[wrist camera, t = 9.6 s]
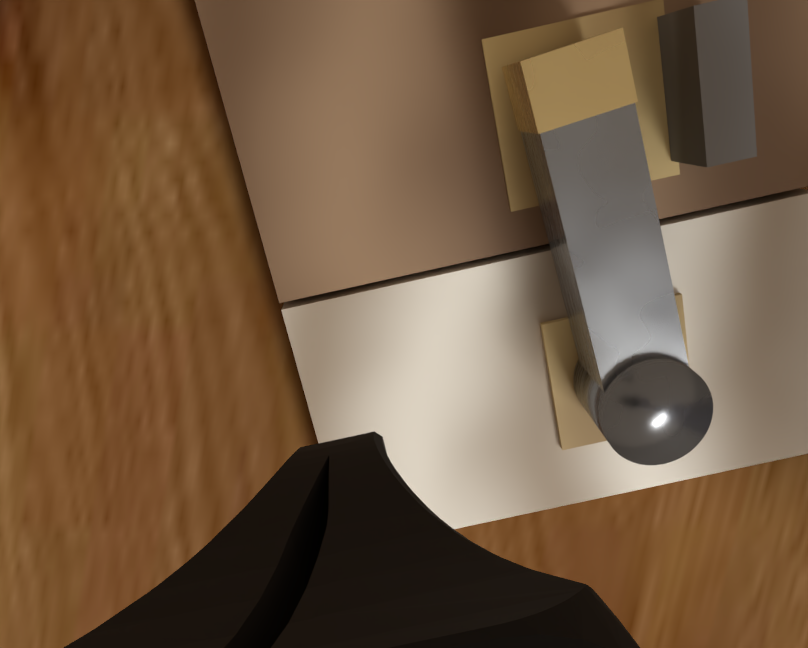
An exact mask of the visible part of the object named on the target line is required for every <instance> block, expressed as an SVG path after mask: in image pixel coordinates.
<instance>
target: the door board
mask: <svg viewBox="0 0 808 648" xmlns="http://www.w3.org/2000/svg"><path fill="white" fill-rule="evenodd" d="M195 3H196V7H197V10H198V14H199V18H200V21H201V25H202V28H203V32H204V36H205V39H206V43H207V46H208V50H209V53H210V57H211V61H212V64H213V68H214V71H215V75H216V78H217V82H218V86H219V89H220V93H221V96H222V100H223V103H224V107H225V111H226V114H227V118H228V121H229V125H230V129H231V132H232V136H233V139H234V143H235V146H236V150H237V154H238V157H239V161H240V164H241V168H242V171H243V175H244V179H245V182H246V186H247V189H248V193H249V196H250V200H251V204H252V207H253V211H254V214H255V218H256V222H257V225H258V229H259V232H260V236H261V239H262V243H263V247H264V250H265V254H266V257H267V261H268V264H269V268H270V272H271V275H272V279H273V282H274V286H275V289H276V293H277V297H278V300H279V303H282V302H284V305H283V307H282V309H281V311H282V315H283V318H284V322H285V325H286V329H287V332H288V336H289V340H290V343H291V347H292V350H293V354H294V357H295V361H296V365H297V368H298V372H299V375H300V379H301V382H302V386H303V390H304V393H305V397H306V400H307V404H308V407H309V411H310V415H311V418H312V422H313V425H314V429H315V433H316V436H317V440H318V443H323V442H328V441H332V440H337V439H342V438H346V437H351V436H355V435H360V434H365V433H369V432H374V431H375V432H376V433H378V434H379V435H381V436H382V437H383V440H384V444H385V448H386V452H387V456H388V457H389V459H390V461H391V463H392V464H393V466H394V467H395V469H396V470H397V472H398V473H399V474H400V476H401V477H402V478H403V480H404V481H405V482H406V484H407V485H408V486H409V487H410V489H411V490H412V491H413V492H414V493H415V494H416V495H417V496H418V497H419V498H420V500H421V501H422V502H423V503H424V504H425V505H426V506H427V507H428V508H429V509H430V510H431V511H432V512H434V513H435V514H436V515H437V516H438V517H439V518H440V519H441V520H443V521H444V522H445V523H446V524H448V525H449V526H450V527H452V528H453V529H457V528H461V527H466V526H471V525H475V524H480V523H485V522H489V521H494V520H499V519H504V518H508V517H513V516H518V515H522V514H527V513H532V512H536V511H541V510H546V509H550V508H555V507H560V506H564V505H569V504H574V503H578V502H583V501H588V500H593V499H597V498H602V497H607V496H611V495H616V494H621V493H625V492H630V491H635V490H639V489H644V488H649V487H653V486H658V485H663V484H667V483H672V482H677V481H682V480H686V479H691V478H696V477H700V476H705V475H710V474H714V473H719V472H724V471H728V470H733V469H738V468H742V467H747V466H752V465H756V464H761V463H766V462H771V461H775V460H780V459H785V458H789V457H794V456H799V455H803V454H808V190H805V189H800V188H803V187H807V186H808V0H195ZM620 28H623V31H624V36H625V40H626V45H627V50H628V55H629V60H630V65H631V70H632V75H633V80H634V85H635V90H636V94H637V99H638V102H636V103H635V105H636V110H637V115H638V120H639V124H640V129H641V134H642V139H643V144H644V149H645V154H646V159H647V163H648V168H649V173H650V178H651V183H652V188H653V193H654V198H655V202H656V207H657V212H658V217H659V222H660V227H661V232H662V237H663V241H664V246H665V251H666V256H667V261H668V266H669V271H670V276H671V280H672V285H673V290H674V295H675V300H676V305H677V310H678V315H679V320H680V324H681V329H682V334H683V339H684V344H685V349H686V354H687V359H688V363H689V367H690V368H691V369H692V370H693V371H695V372H696V373H697V374H698V375H699V376H700V377H701V378H702V379H703V380H704V381H705V383H706V384H707V386H708V388H709V390H710V392H711V395H712V399H713V416H712V420H711V424H710V426H709V429H708V431H707V433H706V434H705V436H704V438H703V439H702V440H701V442H700V443H699V444H698V445H697V446H696V447H695V448H694V449H693V450H692V451H690V452H689V453H688V454H686V455H685V456H683V457H681V458H679V459H677V460H675V461H672V462H669V463H666V464H661V465H641V464H637V463H633V462H631V461H628V460H626V459H625V458H623V457H621V456H619V454H618V453H617V452H616V451H615V450H614V449H613V448H612V447H611V445H610V444H609V443H608V441H607V440H606V438H605V437H604V436H603V434H602V433H601V431H600V430H599V429H598V427H597V426H596V424H595V423H594V421H593V420H592V419H591V417H590V416H589V414H588V413H587V412H586V410H585V409H584V407H583V406H582V405H581V403H580V402H579V400H578V398H577V396H576V393H575V390H574V385H573V376H574V370H575V366H576V364H577V361H578V359H579V358H578V354H577V350H576V346H575V343H574V339H573V335H572V331H571V327H570V323H569V319H568V315H567V311H566V307H565V303H564V300H563V296H562V292H561V288H560V284H559V280H558V276H557V272H556V268H555V264H554V260H553V257H552V253H551V249H550V245H549V241H548V237H547V233H546V229H545V225H544V221H543V217H542V213H541V210H540V206H539V202H538V198H537V194H536V190H535V186H534V182H533V178H532V174H531V170H530V167H529V163H528V159H527V155H526V151H525V147H524V143H523V139H522V135H521V131H518V129H517V125H516V121H515V117H514V113H513V110H512V106H511V102H510V98H509V94H508V90H507V86H506V82H505V78H504V75H503V71H502V67H503V66H506V65H509V64H512V63H515V62H518V61H521V60H524V59H527V58H530V57H533V56H536V55H539V54H543V53H546V52H549V51H552V50H555V49H558V48H561V47H564V46H567V45H570V44H573V43H576V42H579V41H582V40H585V39H588V38H591V37H594V36H597V35H600V34H604V33H607V32H610V31H613V30H616V29H620Z"/></svg>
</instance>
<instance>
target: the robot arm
mask: <svg viewBox="0 0 808 648" xmlns="http://www.w3.org/2000/svg"><path fill="white" fill-rule="evenodd" d="M64 648H640V647H639V646H638V644H637V643H636V642H635V640H634V639H633V638H632V636H631V635H630V634H629V633H628V631H627V630H626V629H625V627H624V626H623V625H622V623H621V622H620V621H619V619H618V618H617V617H616V616H615V615H614V614H613V612H612V611H611V610H610V609H609V608H608V606H607V605H606V604H605V603H604V602H603V600H602V599H601V598H600V597H599V596H598V595H597V593H596V592H595V591H594V590H593V589H592V588H591V587H589V586H588V585H586V584H583V583H579V582H575V581H571V580H568V579H564V578H560V577H557V576H553V575H549V574H545V573H542V572H538V571H534V570H531V569H529V568H526V567H523V566H521V565H518V564H516V563H513V562H511V561H508V560H506V559H504V558H501V557H499V556H497V555H495V554H493V553H491V552H489V551H487V550H486V549H484V548H482V547H480V546H478V545H477V544H475V543H473V542H471V541H470V540H468V539H467V538H465V537H464V536H463V535H461V534H460V533H458V532H457V531H455V530H454V529H453V528H452V527H450V526H449V525H448V524H446V523H445V522H444V521H443V520H441V519H440V518H439V517H438V516H437V515H436V514H435V513H434V512H432V511H431V510H430V509H429V508H428V507H427V506H426V505H425V504H424V503H423V502H422V501H421V500H420V498H419V497H418V496H417V495H416V494H415V493H414V492H413V491H412V490H411V489H410V487H409V486H408V485H407V484H406V482H405V481H404V480H403V478H402V477H401V476H400V474H399V473H398V472H397V470H396V469H395V467H394V466H393V464H392V463H391V461H390V459H389V457H388V456H387V452H386V448H385V444H384V440H383V437H382V436H381V435H379V434H378V433H376V432H375V431H374V432H369V433H365V434H360V435H355V436H351V437H346V438H342V439H337V440H332V441H328V442H323V443H319V444H314V445H309V446H305V447H300V448H299V449H298V450H297V451H296V452H295V453H294V454H293V455H292V456H291V457H290V458H289V459H288V460H287V461H286V462H285V463H284V465H283V466H282V467H281V468H280V469H279V470H278V471H277V472H276V474H275V475H274V476H273V477H272V478H271V479H270V480H269V481H268V482H267V484H266V485H265V486H264V487H263V488H262V489H261V490H260V491H259V492H258V493H257V495H256V496H255V497H254V498H253V499H252V500H251V501H250V502H249V503H248V504H247V506H246V507H245V508H244V509H243V510H242V511H241V512H240V513H239V514H238V515H237V516H236V517H235V518H234V519H233V520H231V521H230V522H229V523H228V524H227V525H226V526H225V527H224V528H223V529H222V530H221V531H220V532H219V533H218V534H217V535H216V536H215V537H214V538H213V539H212V540H211V541H210V542H209V543H208V544H207V545H206V546H205V547H204V548H203V549H202V550H200V551H199V552H198V553H197V554H196V555H195V556H194V557H192V558H191V559H190V560H189V561H188V562H187V563H185V564H184V565H183V566H182V567H180V568H179V569H178V570H177V571H175V572H174V573H173V574H172V575H170V576H169V577H168V578H167V579H165V580H164V581H163V582H162V583H160V584H159V585H158V586H156V587H155V588H154V589H152V590H151V591H150V592H148V593H147V594H145V595H144V596H143V597H141V598H140V599H138V600H137V601H135V602H134V603H132V604H131V605H129V606H128V607H126V608H125V609H123V610H122V611H120V612H119V613H118V614H116V615H115V616H113V617H112V618H110V619H109V620H107V621H106V622H104V623H103V624H101V625H100V626H98V627H97V628H95V629H94V630H92V631H91V632H89V633H87V634H86V635H84V636H83V637H81V638H79V639H77V640H76V641H74V642H72V643H71V644H69V645H67V646H66V647H64Z"/></svg>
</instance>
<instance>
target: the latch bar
mask: <svg viewBox="0 0 808 648" xmlns="http://www.w3.org/2000/svg"><path fill="white" fill-rule="evenodd" d="M502 71H503V75H504V78H505V82H506V86H507V90H508V94H509V98H510V102H511V106H512V110H513V113H514V117H515V121H516V125H517V129H518V131H521V135H522V139H523V143H524V147H525V151H526V155H527V159H528V163H529V167H530V170H531V174H532V178H533V182H534V186H535V190H536V194H537V198H538V202H539V206H540V210H541V213H542V217H543V221H544V225H545V229H546V233H547V237H548V241H549V245H550V249H551V253H552V257H553V260H554V264H555V268H556V272H557V276H558V280H559V284H560V288H561V292H562V296H563V300H564V303H565V307H566V311H567V315H568V319H569V323H570V327H571V331H572V335H573V339H574V343H575V346H576V350H577V354H578V358H579V359H578V361H577V364H576V366H575V370H574V376H573V385H574V390H575V393H576V396H577V398H578V400H579V402H580V403H581V405H582V406H583V407H584V409H585V410H586V412H587V413H588V414H589V416H590V417H591V419H592V420H593V421H594V423H595V424H596V426H597V427H598V429H599V430H600V431H601V433H602V434H603V436H604V437H605V438H606V440H607V441H608V443H609V444H610V445H611V447H612V448H613V449H614V450H615V451H616V452H617V453H618V454H619V456H621V457H623V458H625V459H626V460H628V461H631V462H633V463H637V464H641V465H661V464H666V463H669V462H672V461H675V460H677V459H679V458H681V457H683V456H685V455H686V454H688V453H689V452H690V451H692V450H693V449H694V448H695V447H696V446H697V445H698V444H699V443H700V442H701V440H702V439H703V438H704V436H705V434H706V433H707V431H708V429H709V426H710V424H711V420H712V416H713V399H712V395H711V392H710V390H709V388H708V386H707V384H706V383H705V381H704V380H703V379H702V378H701V377H700V376H699V375H698V374H697V373H696V372H695V371H693V370H692V369H691V368H690V367H689V363H688V359H687V354H686V349H685V344H684V339H683V334H682V329H681V324H680V320H679V315H678V310H677V305H676V300H675V295H674V290H673V285H672V280H671V276H670V271H669V266H668V261H667V256H666V251H665V246H664V241H663V237H662V232H661V227H660V222H659V217H658V212H657V207H656V202H655V198H654V193H653V188H652V183H651V178H650V173H649V168H648V163H647V159H646V154H645V149H644V144H643V139H642V134H641V129H640V124H639V120H638V115H637V110H636V105H635V103H636V102H638V99H637V94H636V90H635V85H634V80H633V75H632V70H631V65H630V60H629V55H628V50H627V45H626V40H625V36H624V31H623V28H620V29H616V30H613V31H610V32H607V33H604V34H600V35H597V36H594V37H591V38H588V39H585V40H582V41H579V42H576V43H573V44H570V45H567V46H564V47H561V48H558V49H555V50H552V51H549V52H546V53H543V54H539V55H536V56H533V57H530V58H527V59H524V60H521V61H518V62H515V63H512V64H509V65H506V66H503V67H502Z"/></svg>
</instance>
